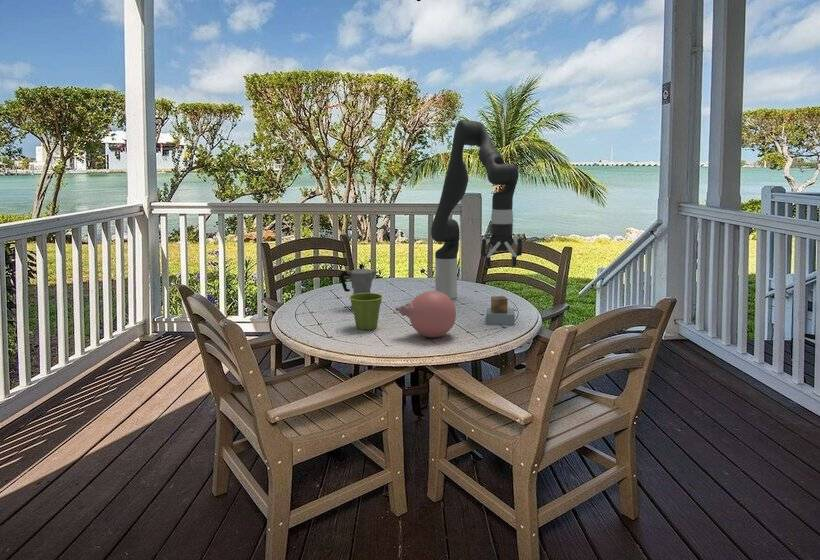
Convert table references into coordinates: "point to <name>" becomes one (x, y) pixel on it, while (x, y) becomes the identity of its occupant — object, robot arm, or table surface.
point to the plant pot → (366, 309)
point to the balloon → (430, 313)
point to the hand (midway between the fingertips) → (500, 267)
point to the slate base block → (500, 317)
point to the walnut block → (499, 304)
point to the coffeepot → (358, 280)
